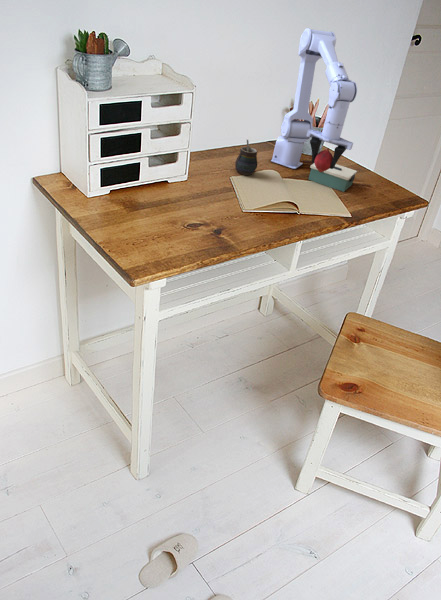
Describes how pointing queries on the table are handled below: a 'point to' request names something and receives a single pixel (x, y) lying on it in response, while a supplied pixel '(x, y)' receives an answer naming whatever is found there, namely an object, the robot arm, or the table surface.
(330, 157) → the onion
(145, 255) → the table surface
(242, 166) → the mate gourd
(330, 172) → the lunchbox
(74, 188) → the table surface
